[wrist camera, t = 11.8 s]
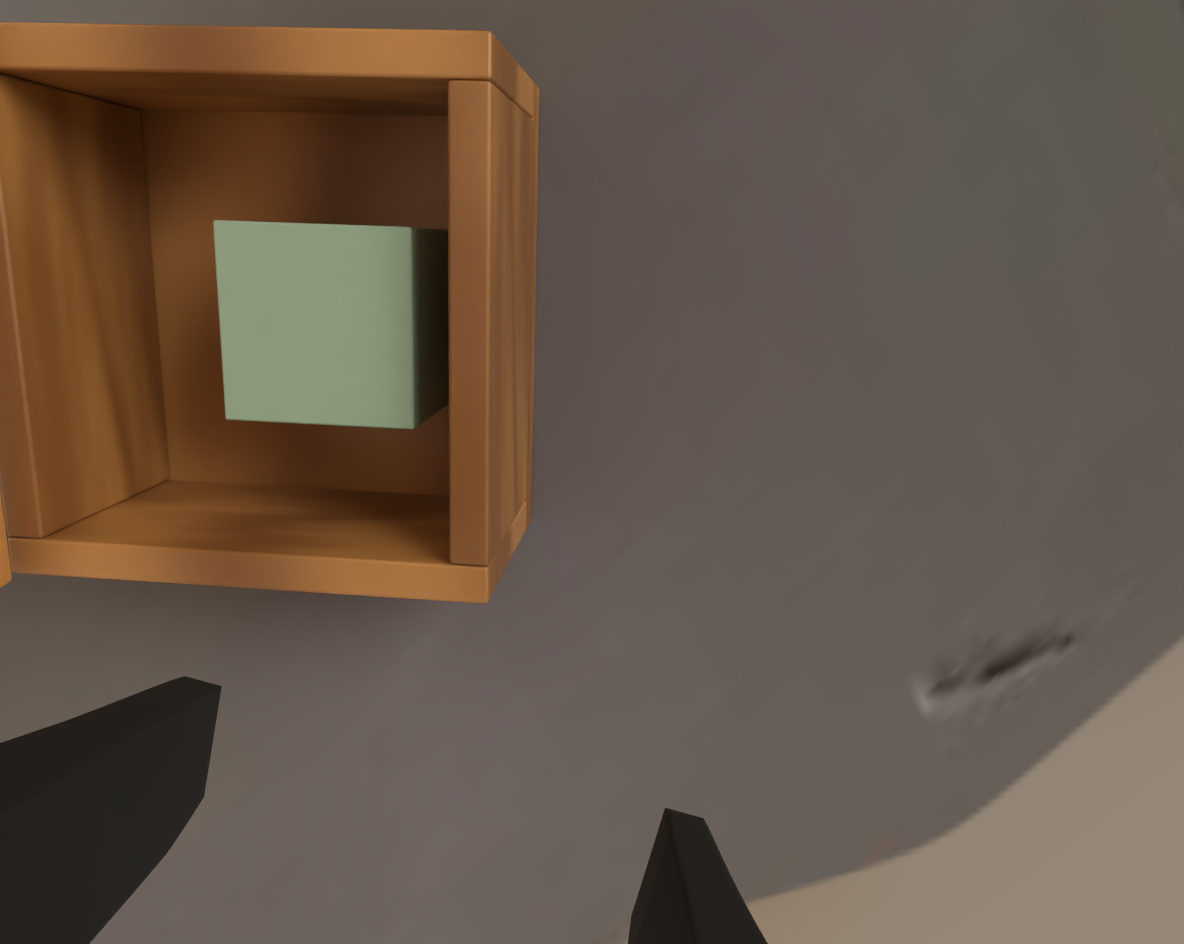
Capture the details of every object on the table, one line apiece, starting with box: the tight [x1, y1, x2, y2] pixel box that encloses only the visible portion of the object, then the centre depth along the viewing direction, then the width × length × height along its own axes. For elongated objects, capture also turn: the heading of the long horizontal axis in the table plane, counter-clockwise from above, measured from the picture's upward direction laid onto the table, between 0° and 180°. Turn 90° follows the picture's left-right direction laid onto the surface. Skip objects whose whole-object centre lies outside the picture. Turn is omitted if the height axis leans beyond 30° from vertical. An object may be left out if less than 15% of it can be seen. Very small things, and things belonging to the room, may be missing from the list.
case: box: [0, 22, 539, 604], centre depth 20 cm, size 10×11×6 cm
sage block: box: [213, 220, 449, 429], centre depth 20 cm, size 4×4×4 cm
